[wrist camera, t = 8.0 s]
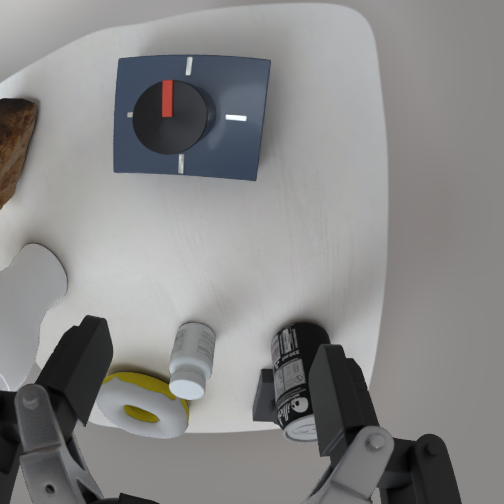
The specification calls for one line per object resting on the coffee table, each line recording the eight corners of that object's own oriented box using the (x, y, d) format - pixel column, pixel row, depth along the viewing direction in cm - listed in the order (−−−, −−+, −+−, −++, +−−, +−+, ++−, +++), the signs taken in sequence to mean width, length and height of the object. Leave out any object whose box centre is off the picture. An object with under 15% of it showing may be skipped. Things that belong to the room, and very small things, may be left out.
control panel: (127, 164, 23) (112, 173, 20) (132, 62, 19) (117, 58, 16) (255, 172, 24) (256, 182, 21) (268, 65, 20) (271, 59, 17)
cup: (29, 212, 25) (-65, 290, 11) (93, 280, 29) (27, 387, 15) (2, 265, 28) (-65, 339, 14) (57, 321, 32) (5, 409, 18)
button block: (261, 368, 35) (262, 394, 31) (336, 369, 36) (343, 393, 32) (252, 409, 40) (252, 431, 36) (317, 409, 40) (321, 430, 37)
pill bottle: (179, 347, 33) (167, 400, 26) (175, 320, 31) (160, 374, 24) (216, 350, 33) (211, 404, 26) (215, 322, 31) (208, 378, 24)
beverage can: (327, 353, 34) (349, 437, 23) (274, 362, 34) (282, 449, 24) (327, 313, 31) (355, 405, 20) (266, 323, 31) (274, 420, 21)
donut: (86, 361, 35) (74, 388, 31) (174, 364, 35) (168, 396, 30) (124, 414, 42) (118, 438, 37) (200, 418, 41) (198, 445, 37)
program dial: (215, 144, 20) (206, 155, 16) (155, 145, 20) (131, 157, 15) (216, 83, 18) (208, 77, 13) (154, 87, 18) (130, 83, 13)
